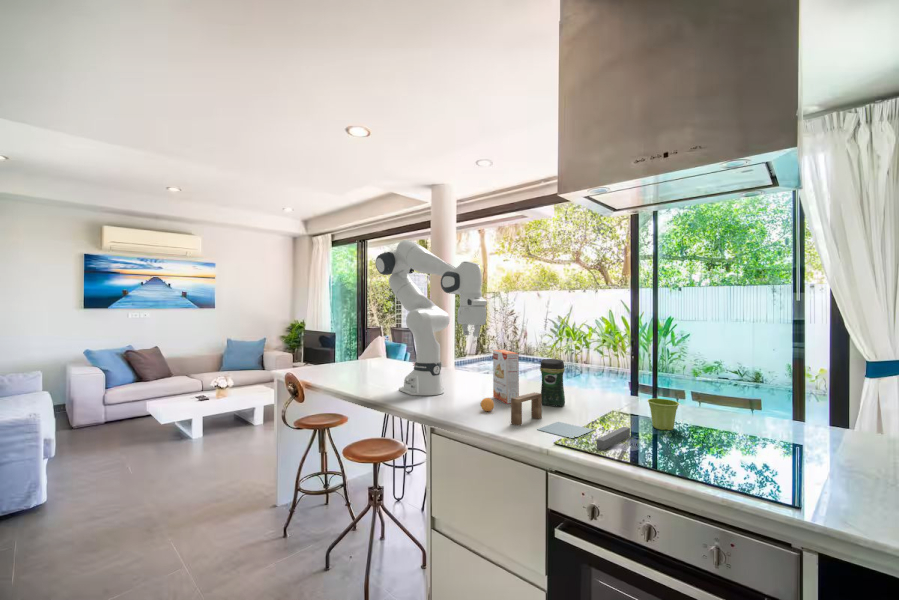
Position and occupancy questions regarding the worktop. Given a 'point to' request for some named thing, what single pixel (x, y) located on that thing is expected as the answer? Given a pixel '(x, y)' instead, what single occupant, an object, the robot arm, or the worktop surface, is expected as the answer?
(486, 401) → the ball
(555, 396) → the coffee jar
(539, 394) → the bridge
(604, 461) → the worktop surface
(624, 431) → the wall
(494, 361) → the cracker box
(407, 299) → the robot arm
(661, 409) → the plant pot
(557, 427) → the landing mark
